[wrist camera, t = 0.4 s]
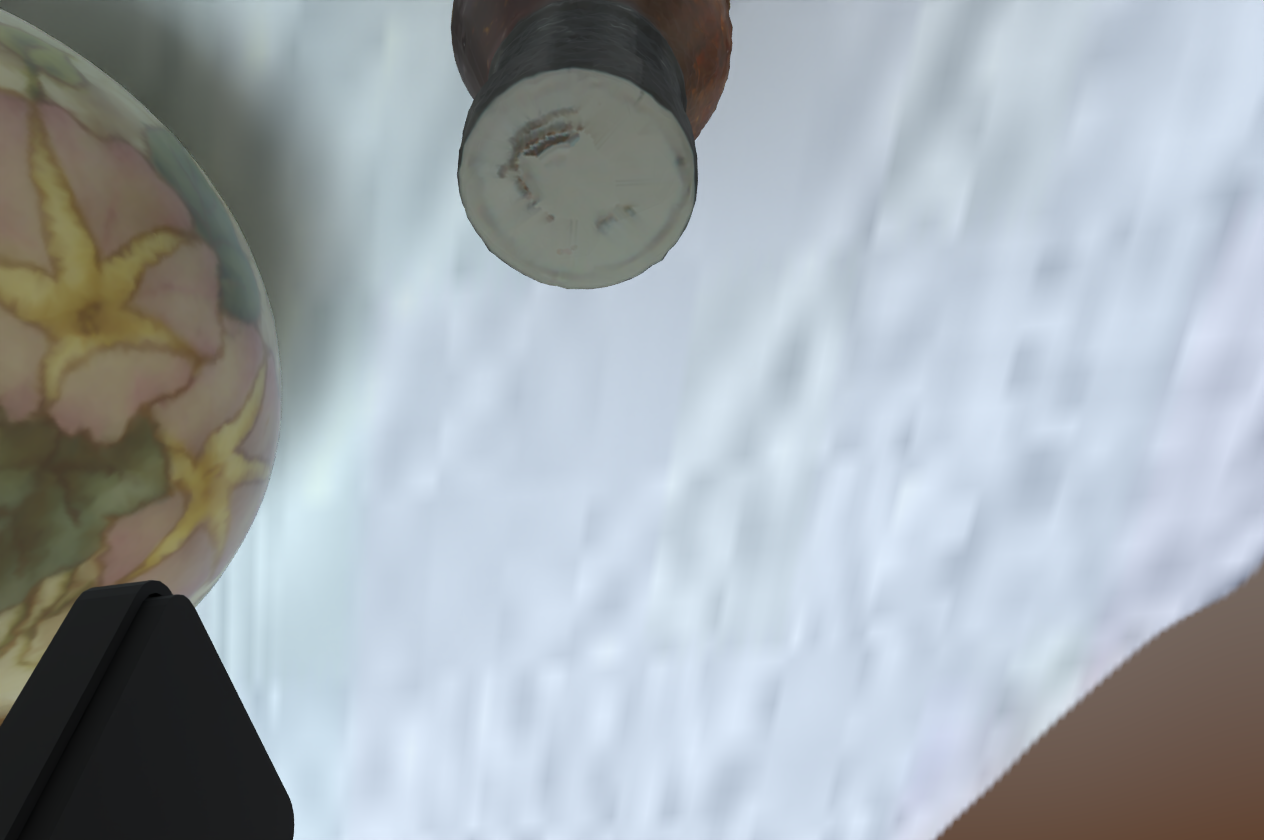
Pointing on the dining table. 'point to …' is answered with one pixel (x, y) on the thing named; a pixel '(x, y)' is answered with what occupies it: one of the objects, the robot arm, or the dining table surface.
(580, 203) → the sauce bottle
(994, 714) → the dining table surface
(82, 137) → the pitcher
